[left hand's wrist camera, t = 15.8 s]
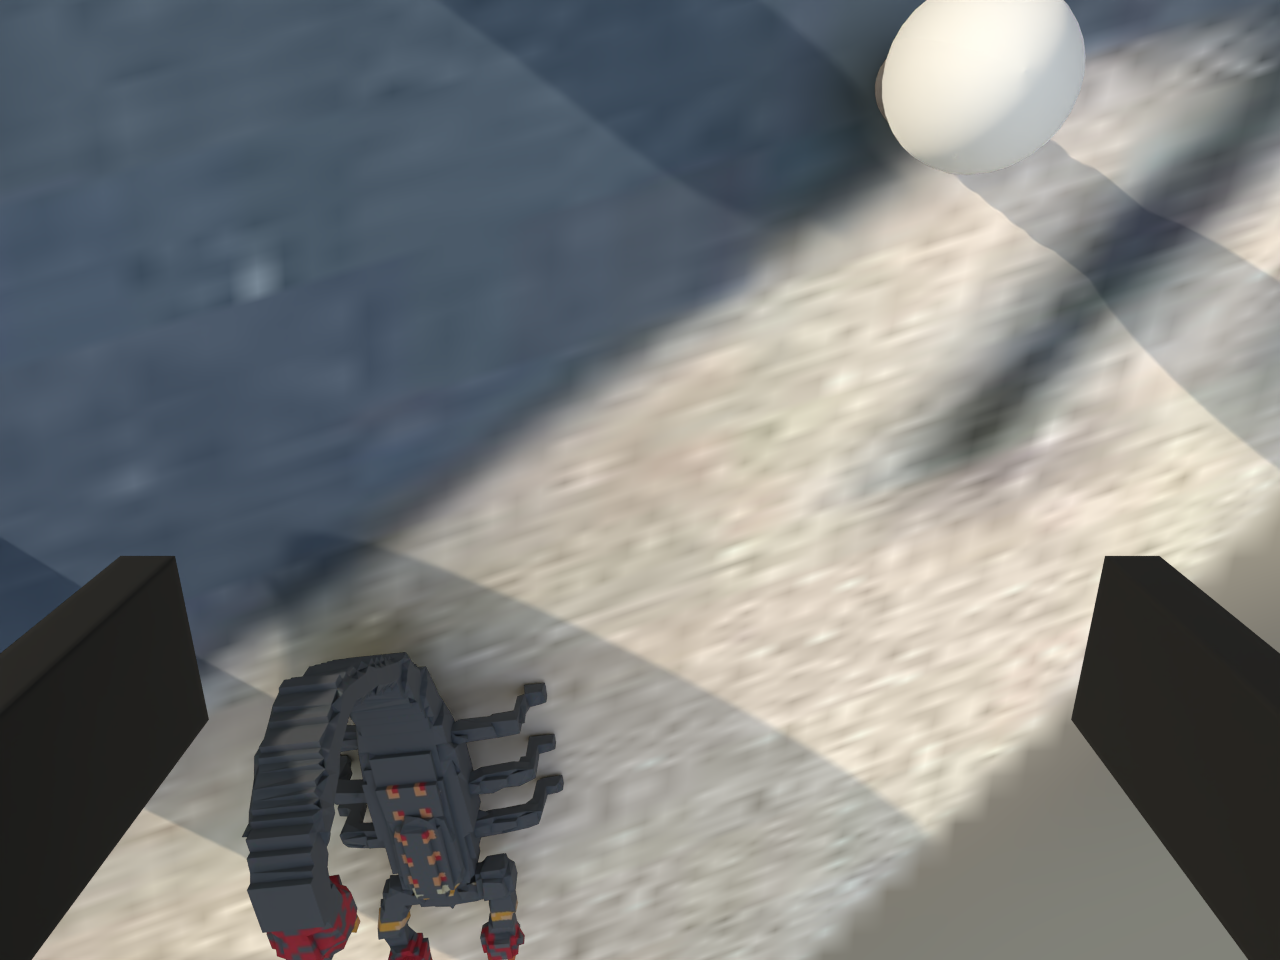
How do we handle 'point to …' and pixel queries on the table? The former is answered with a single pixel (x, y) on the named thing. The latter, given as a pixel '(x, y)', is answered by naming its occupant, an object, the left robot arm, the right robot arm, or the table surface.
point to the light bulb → (981, 81)
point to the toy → (383, 807)
